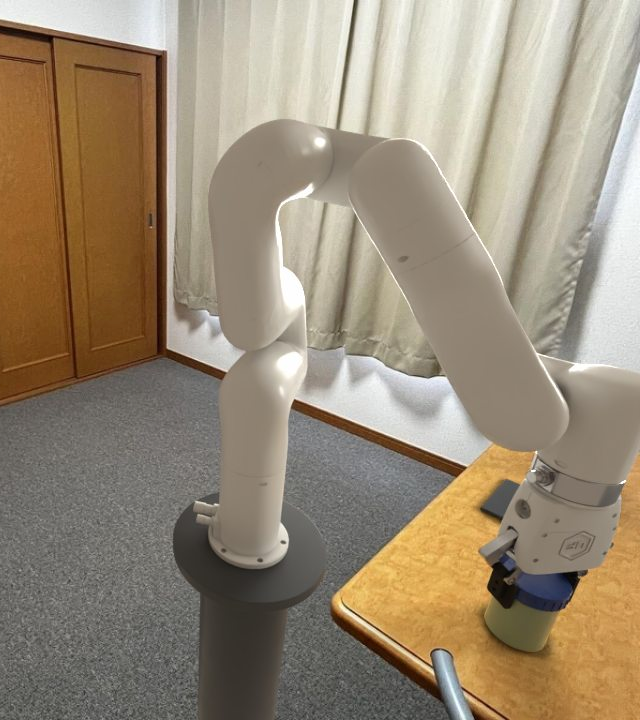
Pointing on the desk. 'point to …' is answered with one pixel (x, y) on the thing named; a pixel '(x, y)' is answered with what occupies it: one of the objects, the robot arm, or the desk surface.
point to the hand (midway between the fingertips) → (527, 594)
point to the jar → (520, 625)
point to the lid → (542, 590)
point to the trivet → (500, 499)
